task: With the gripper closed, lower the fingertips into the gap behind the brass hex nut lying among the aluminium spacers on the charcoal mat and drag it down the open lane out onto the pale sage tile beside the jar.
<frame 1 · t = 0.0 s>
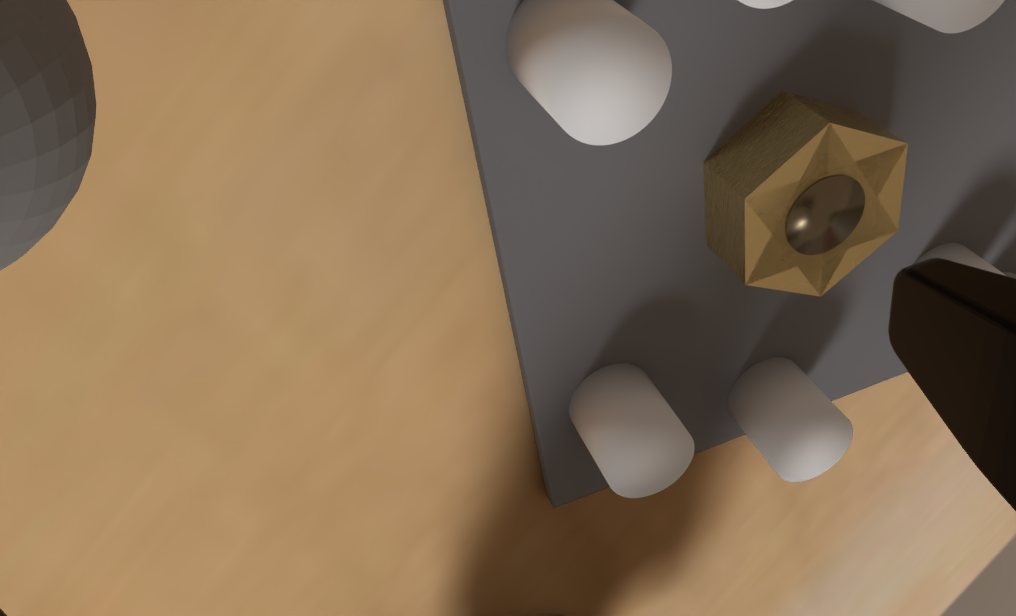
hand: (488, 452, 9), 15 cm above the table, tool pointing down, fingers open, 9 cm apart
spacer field: (799, 160, 27), on the table
nut: (780, 179, 27), point 1 cm above the table, touching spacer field
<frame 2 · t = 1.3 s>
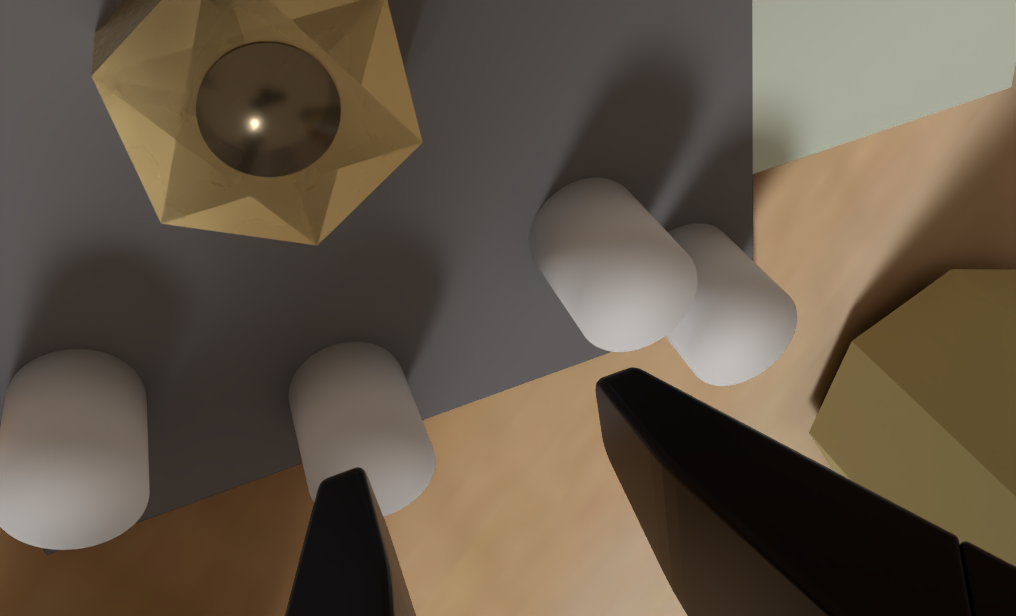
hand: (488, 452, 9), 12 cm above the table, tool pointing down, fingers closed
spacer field: (302, 42, 18), on the table
nut: (255, 67, 18), point 1 cm above the table, touching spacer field
jar: (915, 365, 31), on the table
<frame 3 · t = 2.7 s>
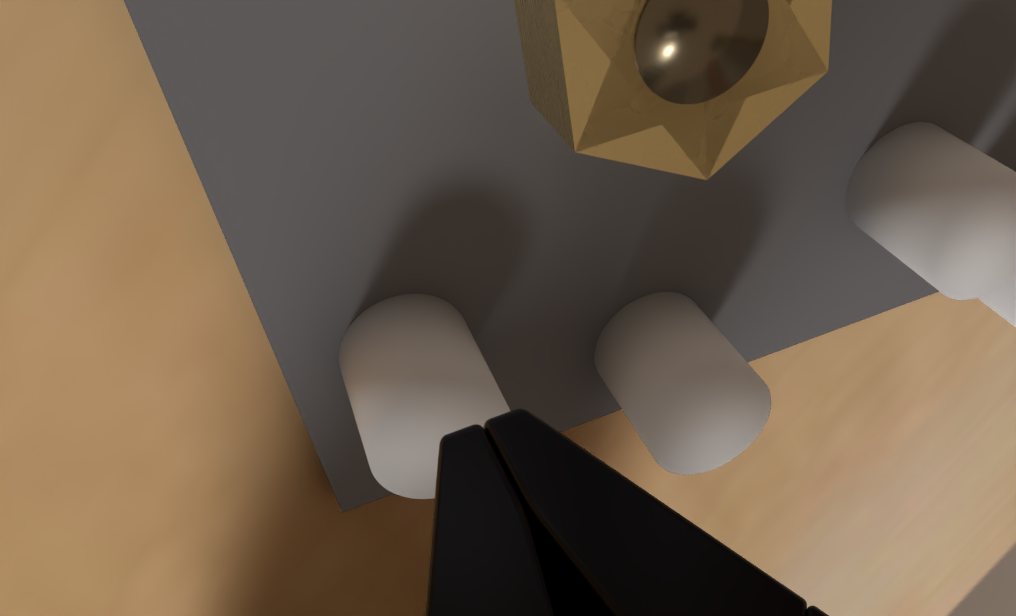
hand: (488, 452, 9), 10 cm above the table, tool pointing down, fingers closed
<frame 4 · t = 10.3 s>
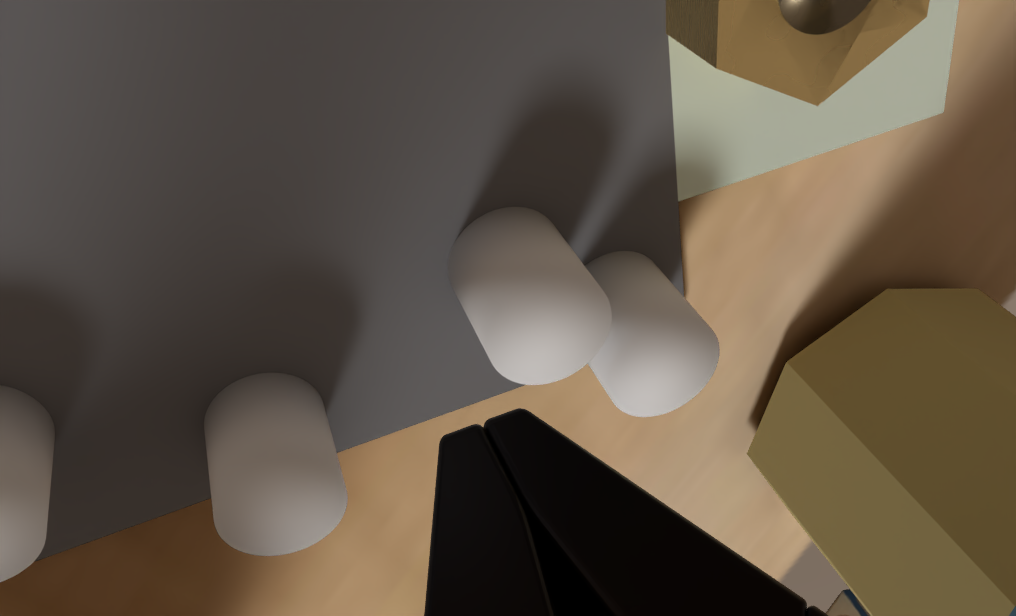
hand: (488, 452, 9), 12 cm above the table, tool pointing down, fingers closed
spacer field: (200, 73, 18), on the table
jar: (858, 384, 30), on the table
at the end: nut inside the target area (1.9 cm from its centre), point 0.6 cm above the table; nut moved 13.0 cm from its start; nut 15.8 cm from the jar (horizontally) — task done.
